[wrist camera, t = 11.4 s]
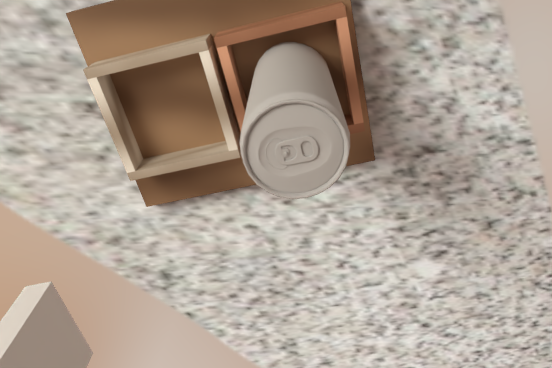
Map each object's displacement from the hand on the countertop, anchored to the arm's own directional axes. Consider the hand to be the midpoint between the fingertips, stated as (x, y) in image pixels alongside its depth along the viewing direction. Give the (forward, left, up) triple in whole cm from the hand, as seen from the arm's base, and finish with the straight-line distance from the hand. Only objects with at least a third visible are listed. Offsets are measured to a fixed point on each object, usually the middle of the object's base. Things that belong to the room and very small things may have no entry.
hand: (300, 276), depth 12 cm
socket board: (0, -4, -21) cm, 22 cm away
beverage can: (0, 0, -21) cm, 21 cm away
